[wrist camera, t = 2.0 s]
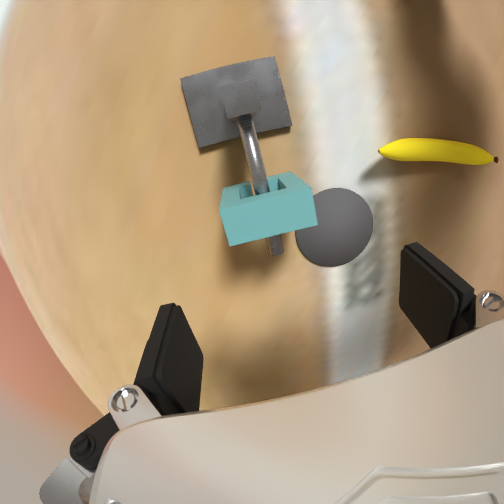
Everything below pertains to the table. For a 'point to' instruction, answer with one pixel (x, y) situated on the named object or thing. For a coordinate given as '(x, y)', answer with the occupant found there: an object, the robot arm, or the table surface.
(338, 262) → the coaster
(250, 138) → the stand
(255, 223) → the link
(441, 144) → the banana
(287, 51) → the table surface
